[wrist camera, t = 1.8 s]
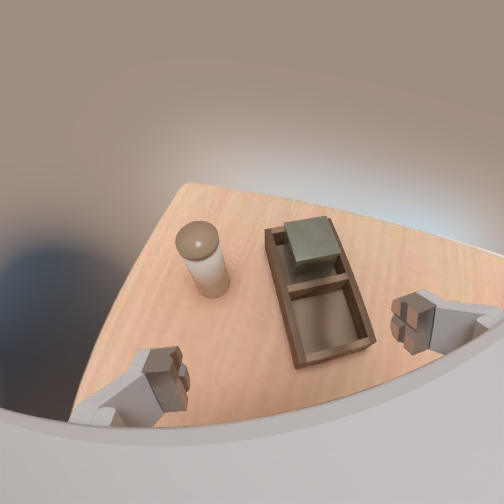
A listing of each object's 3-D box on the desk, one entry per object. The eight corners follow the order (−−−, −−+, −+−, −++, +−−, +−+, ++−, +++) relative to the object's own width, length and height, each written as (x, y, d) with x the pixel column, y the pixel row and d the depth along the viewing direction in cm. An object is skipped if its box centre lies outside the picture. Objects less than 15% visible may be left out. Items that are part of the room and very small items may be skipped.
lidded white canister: (199, 301, 43) (176, 261, 32) (195, 271, 46) (174, 225, 35) (232, 295, 43) (220, 252, 32) (227, 265, 46) (215, 217, 35)
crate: (295, 369, 37) (299, 364, 32) (264, 246, 48) (264, 229, 43) (364, 349, 37) (376, 341, 33) (325, 235, 48) (330, 218, 44)
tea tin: (291, 286, 42) (296, 261, 36) (281, 251, 46) (284, 222, 39) (330, 278, 43) (341, 252, 36) (318, 244, 46) (326, 215, 39)
